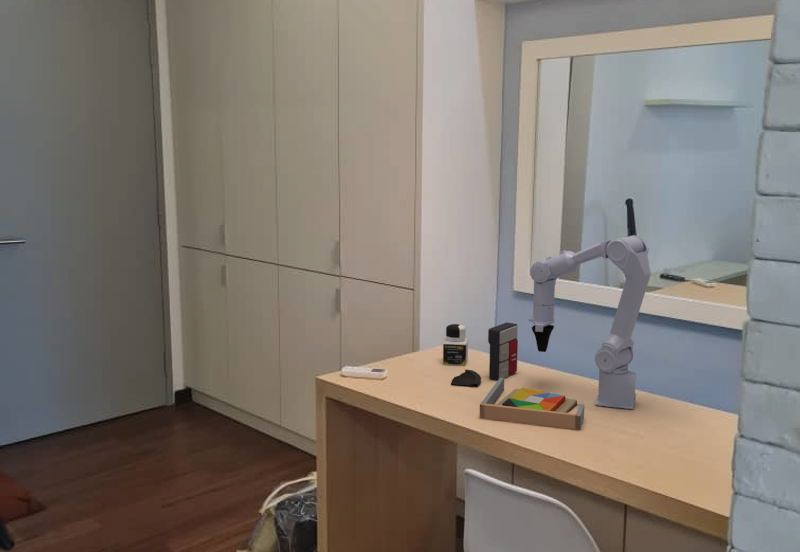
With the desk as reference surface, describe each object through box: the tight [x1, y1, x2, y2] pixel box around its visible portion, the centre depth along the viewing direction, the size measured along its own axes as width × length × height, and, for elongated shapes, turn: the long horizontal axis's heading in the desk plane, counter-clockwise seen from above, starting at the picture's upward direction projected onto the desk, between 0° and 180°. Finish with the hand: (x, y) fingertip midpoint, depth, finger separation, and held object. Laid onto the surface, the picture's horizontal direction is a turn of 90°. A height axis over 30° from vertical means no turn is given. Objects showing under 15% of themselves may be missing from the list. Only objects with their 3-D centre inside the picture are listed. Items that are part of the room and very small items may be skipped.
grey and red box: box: [487, 322, 519, 382], centre depth 218 cm, size 11×4×15 cm, turn 143°
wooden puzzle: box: [495, 387, 578, 413], centre depth 192 cm, size 18×19×4 cm
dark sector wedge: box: [450, 369, 482, 388], centre depth 216 cm, size 8×14×2 cm, turn 163°
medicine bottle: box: [442, 323, 469, 367], centre depth 233 cm, size 7×7×12 cm
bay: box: [479, 378, 585, 431], centre depth 192 cm, size 24×24×4 cm
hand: (542, 351), depth 209 cm, fingers closed
